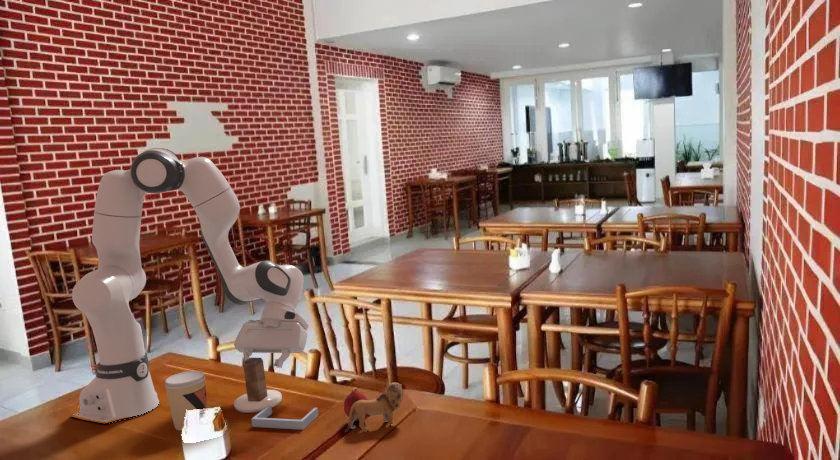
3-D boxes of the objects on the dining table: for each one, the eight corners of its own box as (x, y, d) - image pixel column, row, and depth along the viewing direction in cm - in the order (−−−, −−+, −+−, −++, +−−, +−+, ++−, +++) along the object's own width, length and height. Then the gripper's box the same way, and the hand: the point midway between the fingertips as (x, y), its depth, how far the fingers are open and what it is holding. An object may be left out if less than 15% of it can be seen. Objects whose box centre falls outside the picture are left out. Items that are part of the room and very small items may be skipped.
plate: (225, 411, 161) (224, 407, 161) (251, 393, 172) (250, 389, 172) (266, 413, 157) (265, 409, 157) (290, 394, 168) (289, 390, 168)
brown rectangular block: (248, 401, 163) (242, 362, 162) (255, 395, 167) (250, 357, 166) (260, 401, 162) (254, 362, 161) (267, 396, 166) (262, 357, 164)
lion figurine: (401, 414, 149) (397, 377, 148) (410, 422, 144) (406, 384, 143) (341, 430, 144) (337, 392, 142) (348, 439, 139) (344, 400, 138)
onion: (366, 426, 144) (362, 393, 143) (342, 426, 145) (338, 393, 144) (373, 415, 150) (369, 383, 149) (350, 415, 151) (346, 383, 150)
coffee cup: (194, 433, 149) (187, 384, 148) (162, 431, 152) (155, 383, 151) (219, 416, 158) (212, 370, 157) (188, 414, 161) (181, 369, 160)
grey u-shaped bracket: (252, 426, 150) (251, 418, 150) (269, 413, 157) (268, 405, 157) (303, 429, 146) (302, 421, 146) (318, 415, 153) (317, 407, 153)
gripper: (239, 314, 176) (222, 360, 168) (304, 314, 169) (290, 361, 161) (250, 325, 180) (234, 371, 172) (314, 325, 174) (301, 372, 166)
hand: (262, 366), depth 167 cm, fingers open, 8 cm apart
